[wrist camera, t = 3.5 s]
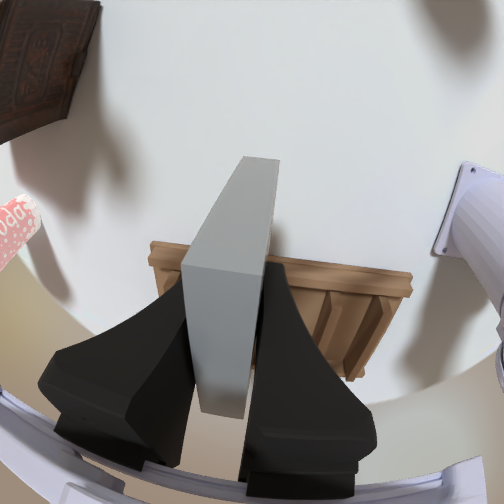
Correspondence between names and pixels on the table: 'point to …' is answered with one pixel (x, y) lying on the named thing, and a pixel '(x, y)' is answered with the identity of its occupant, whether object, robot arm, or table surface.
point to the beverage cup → (17, 226)
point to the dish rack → (322, 302)
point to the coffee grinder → (40, 60)
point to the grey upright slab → (229, 285)
